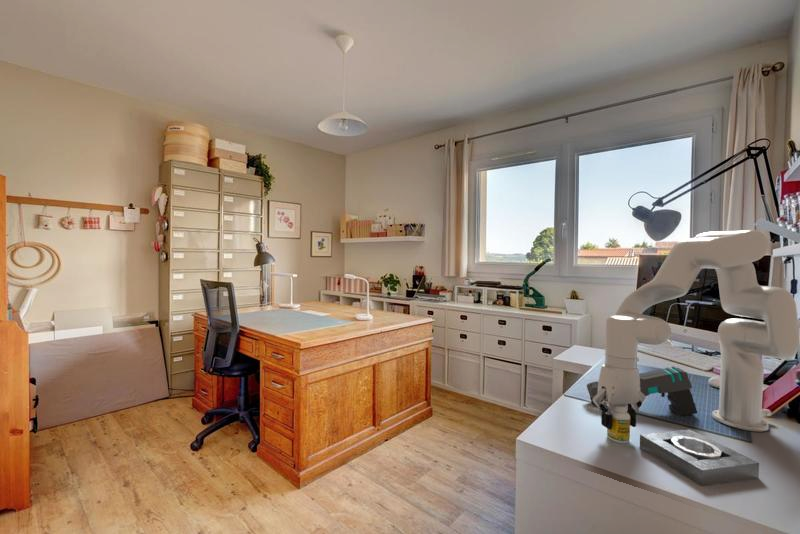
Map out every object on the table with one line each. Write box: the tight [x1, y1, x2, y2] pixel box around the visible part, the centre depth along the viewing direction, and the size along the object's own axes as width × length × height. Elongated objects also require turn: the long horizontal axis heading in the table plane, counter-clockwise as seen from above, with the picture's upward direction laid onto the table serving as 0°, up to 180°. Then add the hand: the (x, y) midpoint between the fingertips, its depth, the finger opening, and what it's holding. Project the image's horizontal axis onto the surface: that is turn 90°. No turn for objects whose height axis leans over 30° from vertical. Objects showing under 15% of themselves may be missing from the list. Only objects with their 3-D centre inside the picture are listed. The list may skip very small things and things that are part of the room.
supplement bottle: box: [606, 404, 631, 444], centre depth 99 cm, size 5×5×10 cm
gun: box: [586, 366, 698, 417], centre depth 120 cm, size 7×29×15 cm, turn 78°
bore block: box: [639, 428, 760, 487], centre depth 89 cm, size 16×16×4 cm
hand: (618, 425), depth 99 cm, fingers open, 6 cm apart
